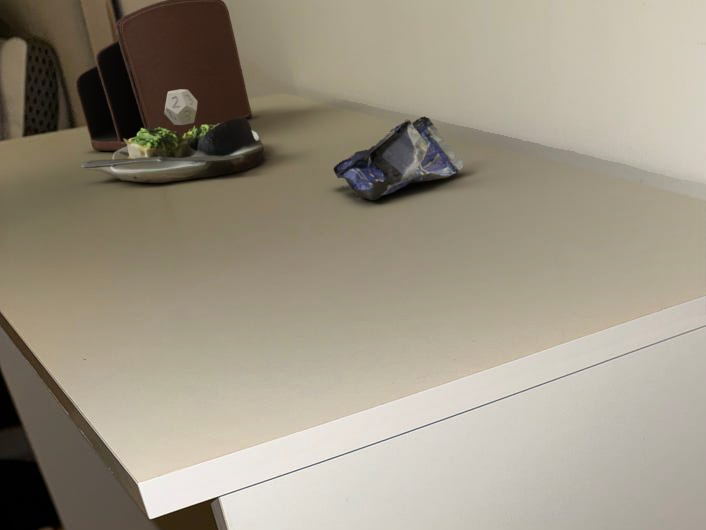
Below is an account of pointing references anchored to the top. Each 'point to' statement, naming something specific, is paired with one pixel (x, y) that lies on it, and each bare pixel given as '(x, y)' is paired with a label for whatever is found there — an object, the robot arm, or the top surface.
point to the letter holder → (163, 72)
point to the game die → (180, 107)
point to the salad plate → (184, 153)
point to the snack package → (399, 160)
